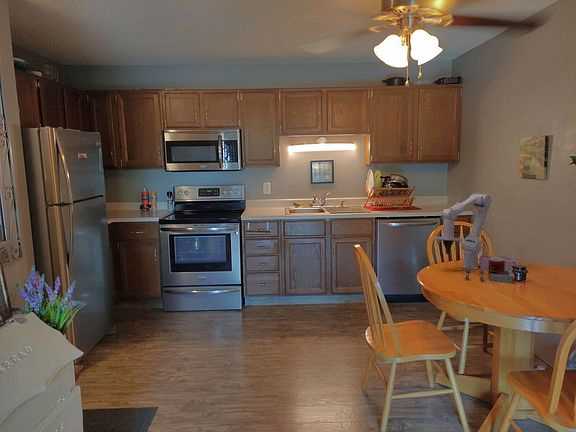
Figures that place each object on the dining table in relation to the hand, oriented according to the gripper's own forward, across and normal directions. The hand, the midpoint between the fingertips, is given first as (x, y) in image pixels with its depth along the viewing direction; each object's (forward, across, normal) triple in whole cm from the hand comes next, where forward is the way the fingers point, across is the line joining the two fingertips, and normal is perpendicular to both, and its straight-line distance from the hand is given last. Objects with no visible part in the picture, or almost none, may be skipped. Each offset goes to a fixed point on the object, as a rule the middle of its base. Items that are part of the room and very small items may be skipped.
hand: (447, 253), depth 229 cm
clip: (+11, +27, +16) cm, 33 cm away
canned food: (+11, +25, -6) cm, 28 cm away
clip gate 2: (+10, +18, -5) cm, 21 cm away
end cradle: (+10, +26, -5) cm, 28 cm away
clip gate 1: (+10, +11, -5) cm, 16 cm away
